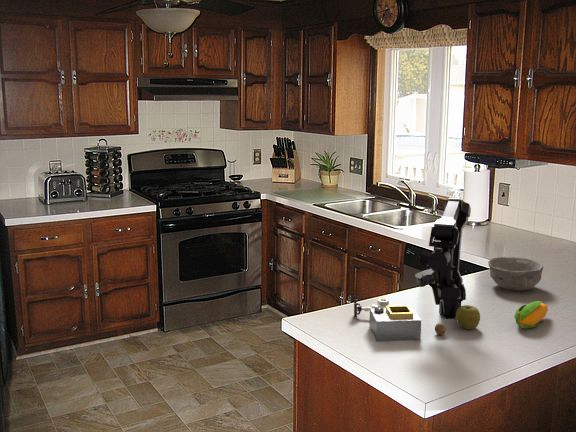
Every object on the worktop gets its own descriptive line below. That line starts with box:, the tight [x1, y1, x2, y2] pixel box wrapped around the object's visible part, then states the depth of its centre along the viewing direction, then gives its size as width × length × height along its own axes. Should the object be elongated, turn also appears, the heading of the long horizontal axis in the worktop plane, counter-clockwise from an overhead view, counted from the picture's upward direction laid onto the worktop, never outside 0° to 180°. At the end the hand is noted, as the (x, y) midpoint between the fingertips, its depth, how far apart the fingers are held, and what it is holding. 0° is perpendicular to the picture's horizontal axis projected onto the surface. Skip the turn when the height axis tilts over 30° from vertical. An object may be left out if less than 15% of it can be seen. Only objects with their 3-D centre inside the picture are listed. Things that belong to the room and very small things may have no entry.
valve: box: [353, 297, 390, 318], centre depth 215 cm, size 7×7×12 cm
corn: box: [514, 300, 549, 330], centre depth 208 cm, size 7×8×20 cm
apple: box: [455, 304, 481, 330], centre depth 205 cm, size 8×8×7 cm
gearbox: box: [369, 304, 422, 342], centre depth 201 cm, size 14×12×8 cm
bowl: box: [487, 256, 544, 292], centre depth 245 cm, size 21×21×10 cm
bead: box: [434, 322, 448, 336], centre depth 200 cm, size 4×4×4 cm
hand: (441, 309), depth 199 cm, fingers open, 9 cm apart
